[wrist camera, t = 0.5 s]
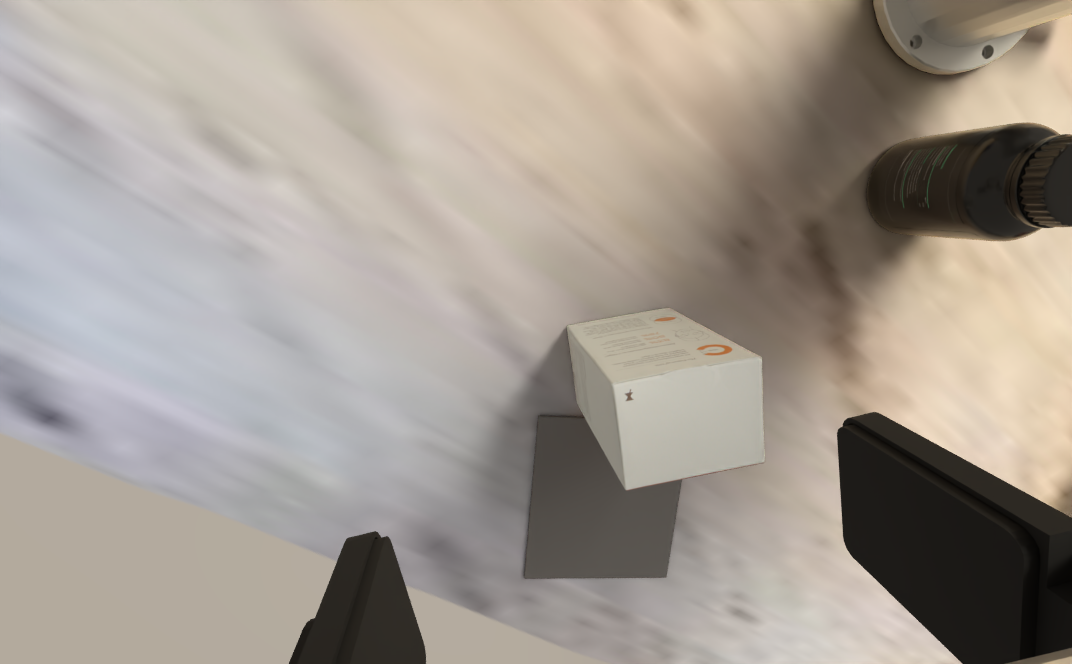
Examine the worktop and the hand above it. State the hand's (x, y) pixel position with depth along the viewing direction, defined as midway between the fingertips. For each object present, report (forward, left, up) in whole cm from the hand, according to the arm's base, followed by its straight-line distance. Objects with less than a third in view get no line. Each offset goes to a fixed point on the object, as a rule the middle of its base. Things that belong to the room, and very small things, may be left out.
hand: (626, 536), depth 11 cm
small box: (-8, +4, -29) cm, 30 cm away
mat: (-8, +16, -28) cm, 34 cm away
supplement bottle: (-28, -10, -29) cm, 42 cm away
